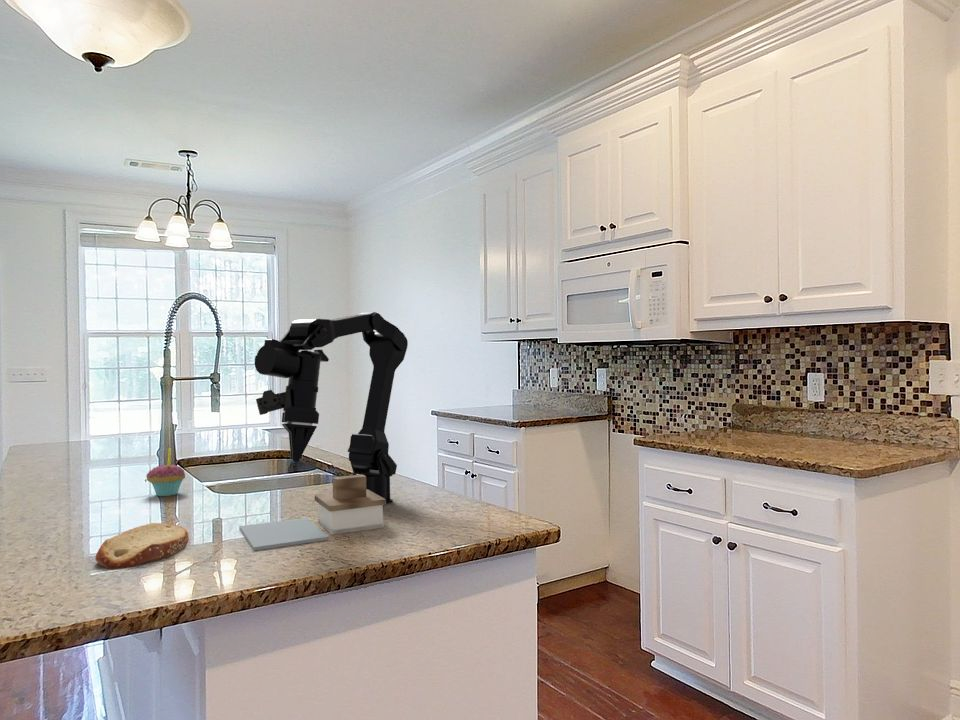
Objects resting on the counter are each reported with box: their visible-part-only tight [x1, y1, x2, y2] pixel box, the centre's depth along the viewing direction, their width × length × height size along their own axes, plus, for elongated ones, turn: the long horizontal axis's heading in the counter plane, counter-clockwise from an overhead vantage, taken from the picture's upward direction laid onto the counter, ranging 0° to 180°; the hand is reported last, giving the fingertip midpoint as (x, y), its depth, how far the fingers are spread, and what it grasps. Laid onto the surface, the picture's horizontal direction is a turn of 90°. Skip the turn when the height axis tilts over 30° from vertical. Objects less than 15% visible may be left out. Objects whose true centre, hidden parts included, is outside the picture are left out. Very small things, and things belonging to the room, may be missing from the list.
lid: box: [314, 474, 387, 511], centre depth 132 cm, size 11×11×5 cm
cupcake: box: [145, 445, 186, 497], centre depth 163 cm, size 9×8×12 cm
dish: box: [317, 502, 384, 536], centre depth 132 cm, size 10×10×4 cm
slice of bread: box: [95, 522, 190, 570], centre depth 118 cm, size 18×18×4 cm
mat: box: [238, 517, 329, 552], centre depth 126 cm, size 13×16×1 cm
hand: (294, 460), depth 132 cm, fingers open, 9 cm apart
